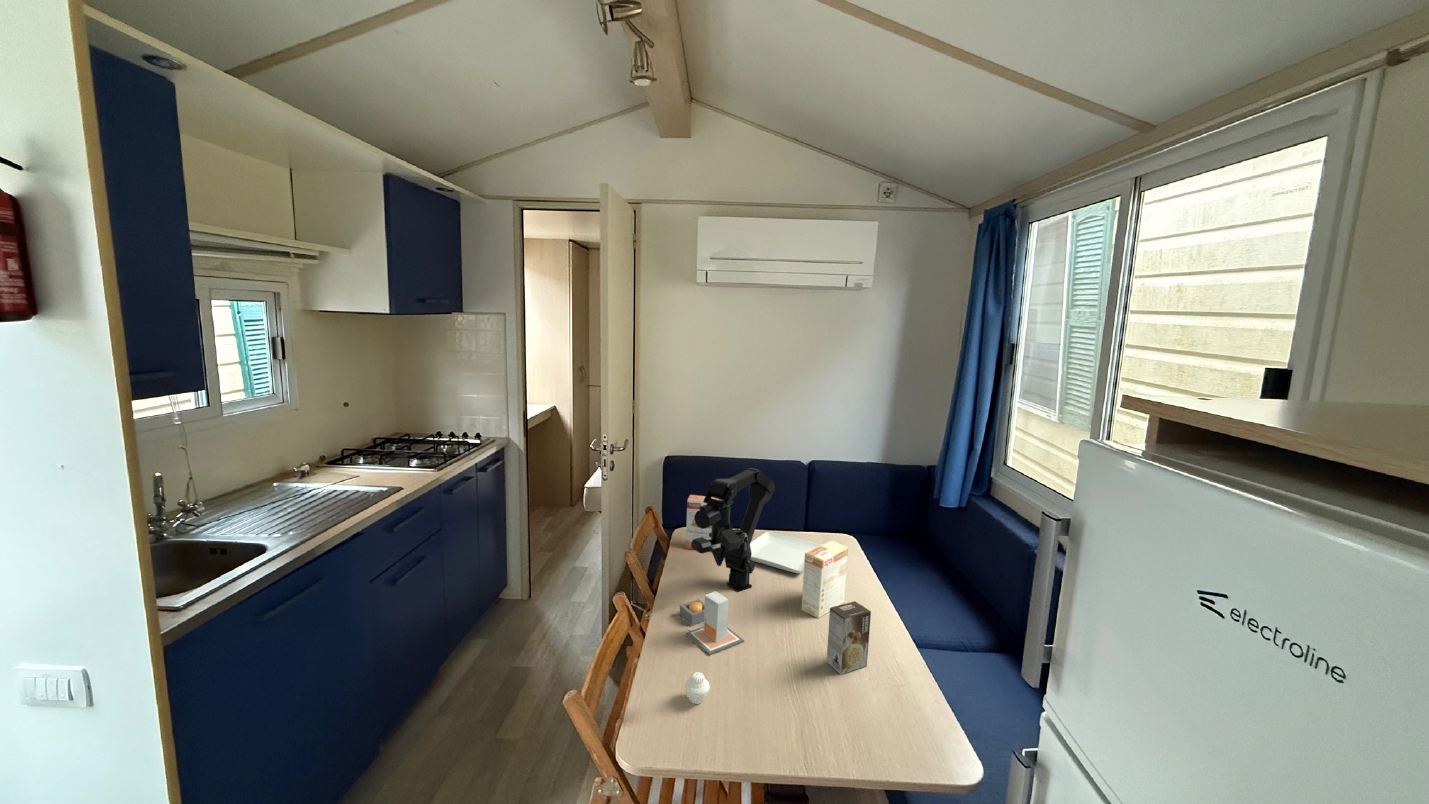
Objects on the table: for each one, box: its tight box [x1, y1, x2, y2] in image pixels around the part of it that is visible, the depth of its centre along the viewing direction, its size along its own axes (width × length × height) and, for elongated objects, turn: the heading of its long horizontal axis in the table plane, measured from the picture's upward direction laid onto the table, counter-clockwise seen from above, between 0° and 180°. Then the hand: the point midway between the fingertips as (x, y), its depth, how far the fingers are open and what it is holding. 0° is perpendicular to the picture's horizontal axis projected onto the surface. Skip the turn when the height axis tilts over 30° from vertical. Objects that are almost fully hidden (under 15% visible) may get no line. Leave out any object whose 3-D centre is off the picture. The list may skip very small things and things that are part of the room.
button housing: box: [679, 598, 705, 627], centre depth 171 cm, size 7×7×4 cm
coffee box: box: [826, 600, 872, 675], centre depth 150 cm, size 9×6×16 cm
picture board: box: [685, 625, 745, 656], centre depth 161 cm, size 12×12×1 cm
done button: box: [689, 602, 702, 613], centre depth 171 cm, size 4×4×3 cm
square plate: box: [750, 531, 822, 574], centre depth 217 cm, size 27×27×4 cm
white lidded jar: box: [683, 671, 711, 705], centre depth 134 cm, size 6×6×7 cm
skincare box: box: [703, 591, 729, 642], centre depth 160 cm, size 6×4×12 cm
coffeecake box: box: [801, 540, 849, 619], centre depth 179 cm, size 15×7×20 cm, turn 134°
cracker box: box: [685, 494, 721, 552], centre depth 220 cm, size 14×6×21 cm, turn 80°
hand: (719, 565), depth 180 cm, fingers closed
